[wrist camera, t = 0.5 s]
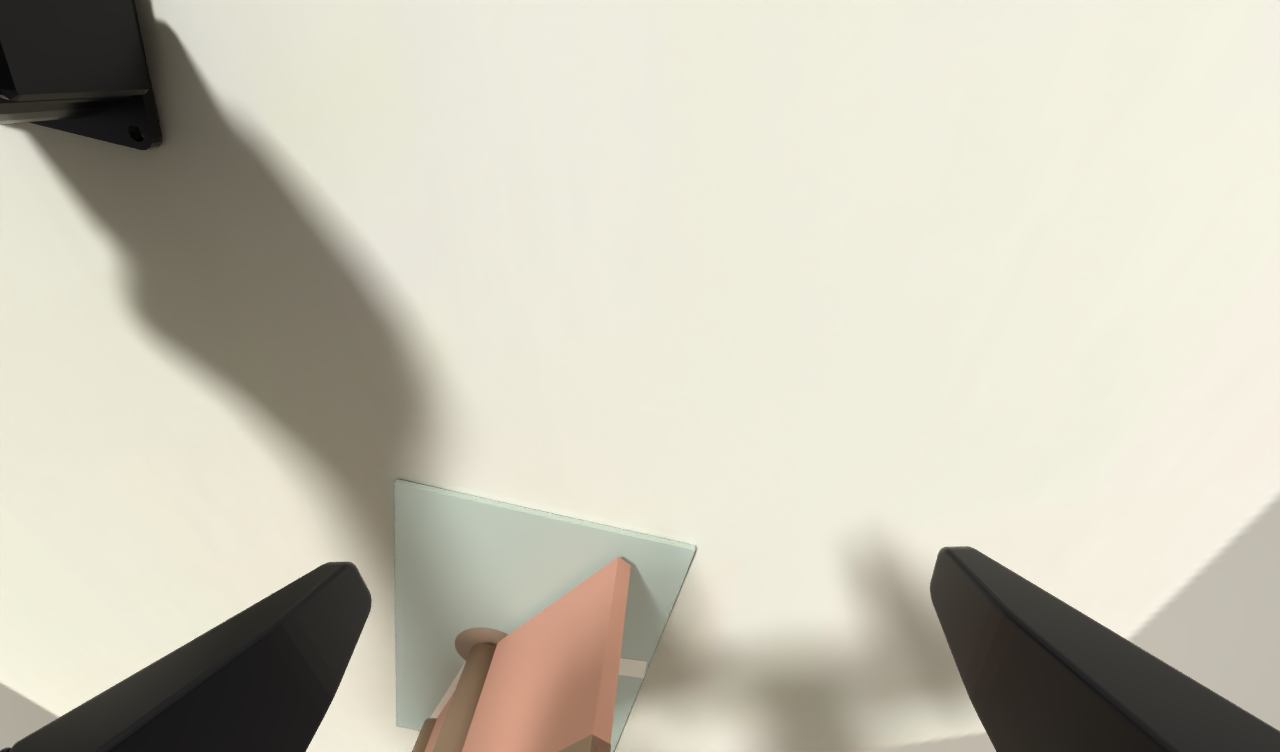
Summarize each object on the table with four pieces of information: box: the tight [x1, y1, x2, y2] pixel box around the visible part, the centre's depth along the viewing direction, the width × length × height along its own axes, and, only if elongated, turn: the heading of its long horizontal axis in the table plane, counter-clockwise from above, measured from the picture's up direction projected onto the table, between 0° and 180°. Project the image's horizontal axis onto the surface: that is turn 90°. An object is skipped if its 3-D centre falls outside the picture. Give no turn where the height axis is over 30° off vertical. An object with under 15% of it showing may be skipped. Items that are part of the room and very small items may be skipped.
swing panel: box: [432, 557, 631, 752], centre depth 25 cm, size 13×2×9 cm, turn 137°
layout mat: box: [394, 479, 695, 752], centre depth 31 cm, size 14×22×1 cm, turn 167°
